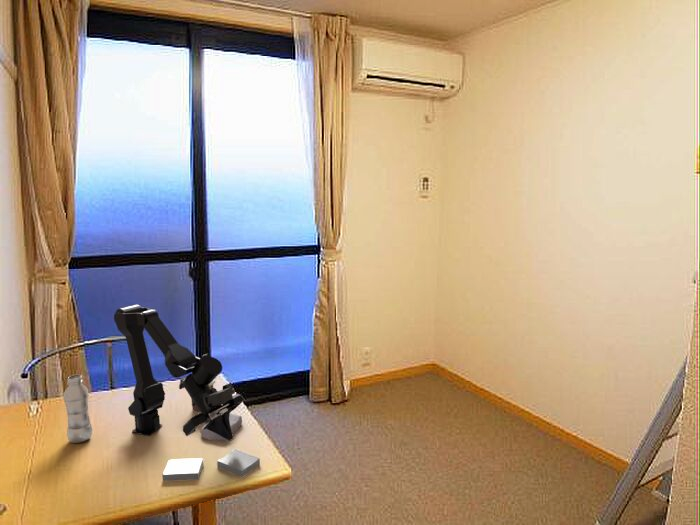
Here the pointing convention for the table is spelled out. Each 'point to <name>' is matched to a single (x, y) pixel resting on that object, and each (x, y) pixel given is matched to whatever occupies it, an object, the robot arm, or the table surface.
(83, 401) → the plastic bottle
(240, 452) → the tile
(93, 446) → the table surface
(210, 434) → the stone block
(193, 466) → the twin tile
